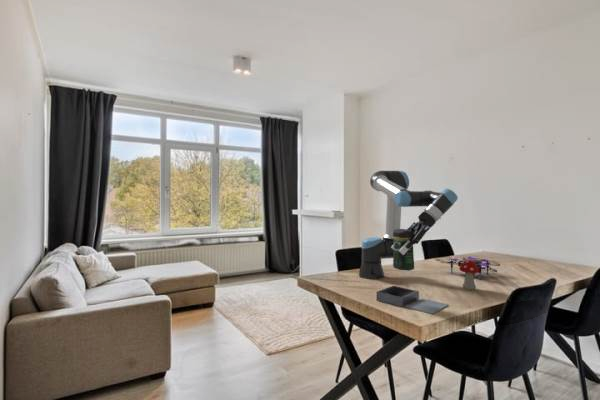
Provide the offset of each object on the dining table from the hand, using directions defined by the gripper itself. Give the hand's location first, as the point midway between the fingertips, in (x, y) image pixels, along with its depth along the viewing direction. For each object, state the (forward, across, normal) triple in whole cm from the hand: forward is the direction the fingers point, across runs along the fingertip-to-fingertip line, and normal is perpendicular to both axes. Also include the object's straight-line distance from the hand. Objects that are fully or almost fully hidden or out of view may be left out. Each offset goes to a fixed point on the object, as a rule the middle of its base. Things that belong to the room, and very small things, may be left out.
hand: (396, 251), depth 153 cm
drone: (-30, +48, -64) cm, 85 cm away
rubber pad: (+9, -7, -24) cm, 27 cm away
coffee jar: (+4, 0, -8) cm, 9 cm away
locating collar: (+16, +2, -18) cm, 24 cm away
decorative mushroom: (-15, +18, -49) cm, 55 cm away
